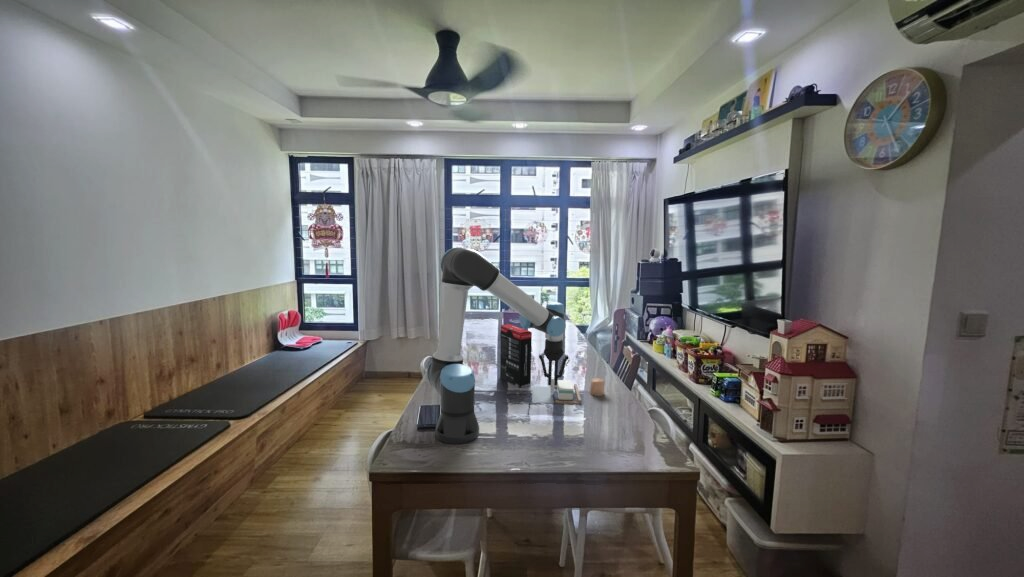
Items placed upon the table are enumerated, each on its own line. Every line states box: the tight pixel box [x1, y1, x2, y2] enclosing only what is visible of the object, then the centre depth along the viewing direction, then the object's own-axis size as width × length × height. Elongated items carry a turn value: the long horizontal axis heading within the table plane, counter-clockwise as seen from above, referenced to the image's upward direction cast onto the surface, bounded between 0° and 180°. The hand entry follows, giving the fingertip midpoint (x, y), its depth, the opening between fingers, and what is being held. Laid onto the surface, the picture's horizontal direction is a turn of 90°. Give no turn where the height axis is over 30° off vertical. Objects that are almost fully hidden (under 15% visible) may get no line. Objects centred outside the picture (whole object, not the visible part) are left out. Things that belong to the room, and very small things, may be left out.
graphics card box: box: [499, 324, 533, 389], centre depth 190 cm, size 17×7×27 cm, turn 35°
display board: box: [531, 383, 582, 405], centre depth 177 cm, size 18×20×3 cm
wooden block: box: [589, 377, 606, 397], centre depth 183 cm, size 6×6×6 cm
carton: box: [556, 379, 575, 401], centre depth 177 cm, size 10×6×5 cm, turn 177°
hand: (552, 392), depth 177 cm, fingers closed
